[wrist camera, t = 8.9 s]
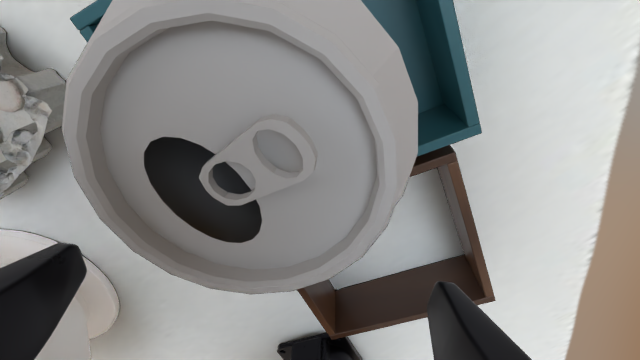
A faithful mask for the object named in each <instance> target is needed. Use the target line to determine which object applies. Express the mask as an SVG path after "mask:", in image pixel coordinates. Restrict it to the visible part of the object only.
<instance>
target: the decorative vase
mask: <svg viewBox="0 0 640 360" xmlns="http://www.w3.org/2000/svg"><path fill="white" fill-rule="evenodd" d="M57 243H58V242H56V241H53V240H51V239H48V238H45V237H42V236H39V235H36V234H32V233H28V232H23V231H16V230H2V229H1V230H0V268H2V267H4V266H6V265H8V264H11V263H13V262H15V261H18V260H20V259H22V258H24V257H27V256H29V255H31V254H34V253H36V252H38V251H40V250H43V249H45V248H47V247H50V246H52V245H54V244H57ZM83 259H84V262H85V265H86V268H87V273H86V276H85V279H84V280H83V282H82V284H81V286H80V287H79V289H78V291H77V292H76V294H75V296H74V298H73V299H72V301H71V303H70V305H69V306H68V308H67V310H66V311H65V313H64V315H63V317H62V318H61V320H60V322H59V323H58V325H57V327H56V329H55V330H54V332H53V333H52V335H51V337H50V338H49V340H48V341H47V343H46V344H45V346H44V347H43V348H42V350H41V351H40V353H39V354H38V355H37V357H36V358H35V360H91V353H90V345H89V339H92V338H95V337H98V336H100V335H102V334H103V333H105V332H106V331H107V330H109V329H110V327H111V326H112V325H113V323H114V322H115V320H116V319H117V317H118V314H119V299H118V296H117V293H116V291H115V289H114V287H113V285H112V284H111V282H110V281H109V280H108V278H107V277H106V276H105V275H104V274H103V273H102V272H101V271H100V270H99V269H98V268H97V267H96V266H95V265H94V264H93V263H91V262H90V261H89V260H87V259H86V258H85V257H83Z"/></svg>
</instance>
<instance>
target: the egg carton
mask: <svg viewBox="0 0 640 360" xmlns="http://www.w3.org/2000/svg"><path fill="white" fill-rule="evenodd" d="M65 91H66V83H65V80H64V79H62V78H61V77H60V76H59V75H58V74H57V73H56V71H55V70H53V69H45V70H41V71H39V72H32V71H31V70H29V69H27V68H26V67H24V66H23V65H21V64H20V63H18V62H17V61H16V60H15V59H14V58H13V57H12V56H11V54H10V52H9V50H8V48H7V45H6V32H5V31H4V30H3V28H1V27H0V200H1V199H2V198H4V197H5V196H7V195H9V194H11V193H12V192H14V191H15V190H17V189H18V188H20V187H22V186H24V185H25V183H26V182H27V181H28V179H29V178H28V175H27V174H25V173H24V170H25V169H26V168H27V167H28V166H29V165H30V164H31V163H33V162H35V161H37V160H38V159H40V158H42V157H44V156H46V155H47V154H48V153H49V151H50V150H51V149H52V146H51V145H50V143H49V142H48V141H47V140H46V139H45V137H44V134H45V133H47V132H50V131H52V130H54V129H56V128H59V127H61V126H62V121H63V111H64V101H65Z"/></svg>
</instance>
